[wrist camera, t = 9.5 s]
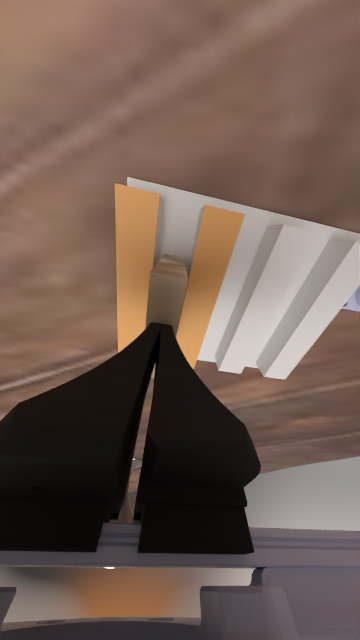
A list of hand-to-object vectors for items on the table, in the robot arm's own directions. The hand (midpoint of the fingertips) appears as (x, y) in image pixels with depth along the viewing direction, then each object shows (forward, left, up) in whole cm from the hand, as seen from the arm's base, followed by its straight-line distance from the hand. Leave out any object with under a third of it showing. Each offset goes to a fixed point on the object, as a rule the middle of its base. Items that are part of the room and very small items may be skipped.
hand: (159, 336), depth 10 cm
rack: (-6, 0, -8) cm, 11 cm away
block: (0, 0, -8) cm, 8 cm away
